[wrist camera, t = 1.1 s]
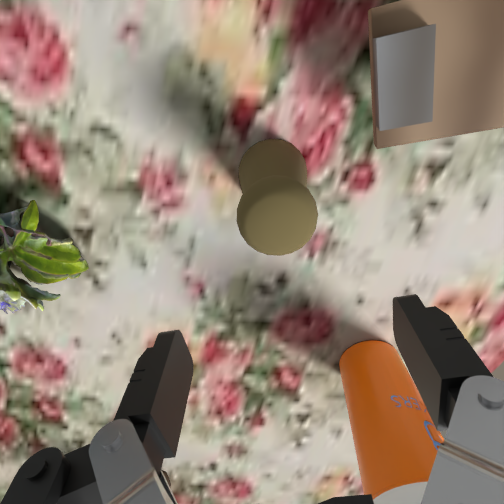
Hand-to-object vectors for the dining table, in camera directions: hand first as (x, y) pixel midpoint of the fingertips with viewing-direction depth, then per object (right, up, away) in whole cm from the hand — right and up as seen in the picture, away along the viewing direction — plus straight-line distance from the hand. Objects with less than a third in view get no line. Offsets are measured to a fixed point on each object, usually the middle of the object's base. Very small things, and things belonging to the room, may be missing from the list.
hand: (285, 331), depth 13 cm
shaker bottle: (+13, -10, +29) cm, 33 cm away
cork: (+1, +10, +17) cm, 20 cm away
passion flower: (-24, +5, +21) cm, 32 cm away
